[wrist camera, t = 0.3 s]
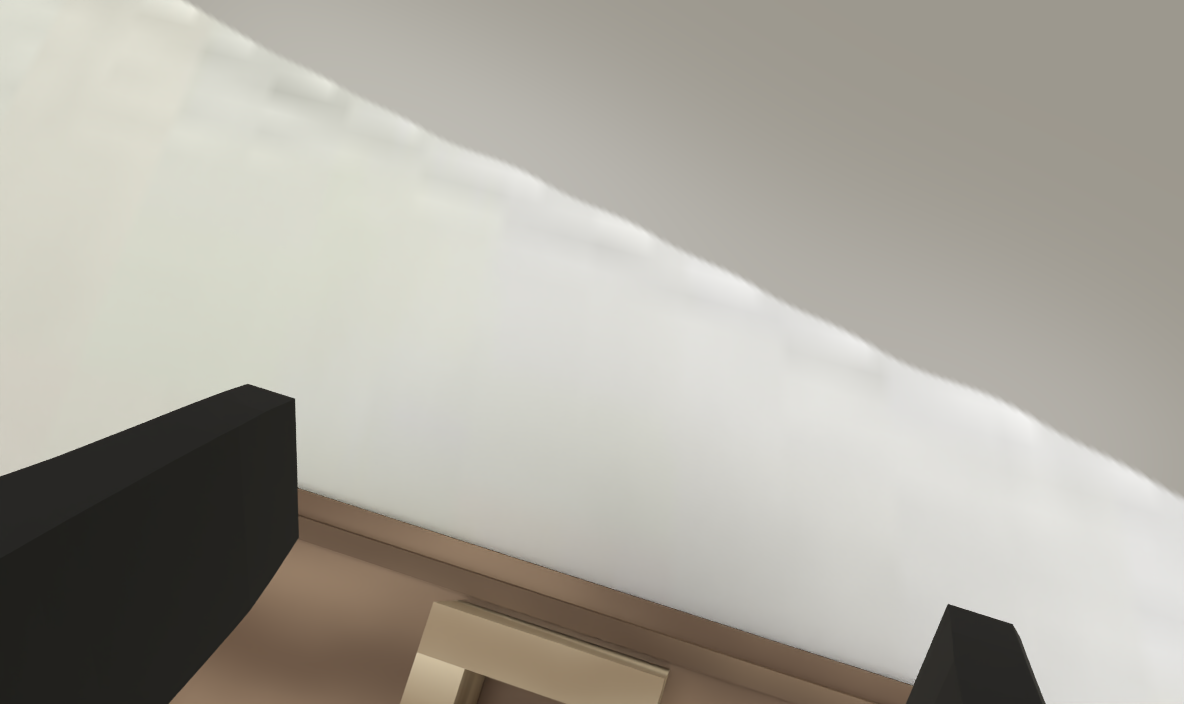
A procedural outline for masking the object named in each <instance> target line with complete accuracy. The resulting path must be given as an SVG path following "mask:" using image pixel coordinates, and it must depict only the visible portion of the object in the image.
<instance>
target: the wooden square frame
mask: <svg viewBox="0 0 1184 704" xmlns="http://www.w3.org/2000/svg"><path fill="white" fill-rule="evenodd" d="M669 671H670V669H668V668H665V667H662V666H659V665H656V664H653V663H650V662H647V661H644V660H641V659H638V658H635V657H632V656H629V655H626V654H623V653H620V652H617V651H614V650H611V649H608V648H605V647H602V646H599V645H596V644H593V643H590V642H587V641H584V640H581V639H578V638H575V637H572V636H569V635H566V634H563V633H560V632H557V631H554V630H551V629H548V628H545V627H542V626H539V625H536V624H533V623H530V622H527V621H524V620H521V619H518V618H515V617H512V616H509V615H506V614H503V613H500V612H497V611H494V610H491V609H488V608H485V607H482V606H479V605H475V604H472V603H469V602H466V601H463V600H454V601H438V602H433V605H432V608H431V611H430V614H429V617H428V620H427V623H426V626H425V629H424V632H423V635H422V638H421V641H420V644H419V648H418V651H417V654H416V657H415V660H414V663H413V666H412V669H411V672H410V675H409V678H408V681H407V684H406V687H405V690H404V693H403V696H402V699H401V702H400V704H477V701H478V698H479V695H480V692H481V689H482V686H483V682H484V679H485V676H487V677H490V678H493V679H496V680H499V681H502V682H504V683H507V684H510V685H513V686H516V687H519V688H522V689H525V690H528V691H531V692H534V693H536V694H539V695H542V696H545V697H548V698H551V699H554V700H557V701H560V702H563V703H566V704H660V703H661V699H662V695H663V692H664V688H665V685H666V681H667V678H668V674H669Z"/></svg>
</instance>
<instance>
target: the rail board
mask: <svg viewBox="0 0 1184 704" xmlns="http://www.w3.org/2000/svg"><path fill="white" fill-rule="evenodd" d="M110 436H111V435H110ZM298 521H299V538H298V540H297V541H296V543H295V544H294V546H293V547H292V549H291V551H290V552H289V554H288V555H287V557H286V558H285V560H284V561H283V563H282V565H281V566H280V568H279V569H278V571H277V572H276V574H275V575H274V577H273V578H272V580H271V581H270V583H269V584H268V586H267V587H266V588H265V590H264V591H263V593H262V594H261V596H260V597H259V599H258V600H257V601H256V603H255V604H254V606H253V607H252V609H251V610H250V611H249V612H248V614H247V615H246V616H245V617H244V618H243V620H242V621H241V622H240V623H239V624H238V625H237V627H236V628H235V629H234V630H233V631H232V632H231V634H230V635H229V636H228V637H227V638H226V639H225V640H224V642H223V643H222V644H221V645H220V646H219V647H218V648H217V650H216V651H215V652H214V653H213V654H212V655H211V657H210V658H209V659H208V660H207V661H206V662H205V663H204V665H203V666H202V667H201V668H200V669H199V670H198V671H197V672H196V674H195V675H194V676H193V677H192V678H191V679H190V680H189V681H188V683H187V684H186V685H185V686H184V687H183V688H182V689H181V690H180V692H179V693H178V694H177V695H176V696H175V697H174V698H173V700H172V701H171V702H170V703H169V704H400V702H401V699H402V696H403V693H404V690H405V687H406V684H407V681H408V678H409V675H410V672H411V669H412V666H413V663H414V660H415V657H416V654H417V651H418V648H419V644H420V641H421V638H422V635H423V632H424V629H425V626H426V623H427V620H428V617H429V614H430V611H431V608H432V605H433V602H438V601H454V600H463V601H466V602H469V603H472V604H475V605H479V606H482V607H485V608H488V609H491V610H494V611H497V612H500V613H503V614H506V615H509V616H512V617H515V618H518V619H521V620H524V621H527V622H530V623H533V624H536V625H539V626H542V627H545V628H548V629H551V630H554V631H557V632H560V633H563V634H566V635H569V636H572V637H575V638H578V639H581V640H584V641H587V642H590V643H593V644H596V645H599V646H602V647H605V648H608V649H611V650H614V651H617V652H620V653H623V654H626V655H629V656H632V657H635V658H638V659H641V660H644V661H647V662H650V663H653V664H656V665H659V666H662V667H665V668H668V669H670V671H669V674H668V678H667V681H666V685H665V688H664V692H663V695H662V699H661V703H660V704H906V702H907V700H908V697H909V695H910V693H911V690H912V688H913V685H910V684H907V683H903V682H900V681H897V680H894V679H891V678H888V677H885V676H882V675H878V674H875V673H872V672H869V671H866V670H863V669H860V668H857V667H854V666H850V665H847V664H844V663H841V662H838V661H835V660H832V659H829V658H826V657H822V656H819V655H816V654H813V653H810V652H807V651H804V650H801V649H798V648H794V647H791V646H788V645H785V644H782V643H779V642H776V641H773V640H769V639H766V638H763V637H760V636H757V635H754V634H751V633H748V632H745V631H741V630H738V629H735V628H732V627H729V626H726V625H723V624H720V623H717V622H713V621H710V620H707V619H704V618H701V617H698V616H695V615H692V614H689V613H685V612H682V611H679V610H676V609H673V608H670V607H667V606H664V605H660V604H657V603H654V602H651V601H648V600H645V599H642V598H639V597H636V596H632V595H629V594H626V593H623V592H620V591H617V590H614V589H611V588H608V587H604V586H601V585H598V584H595V583H592V582H589V581H586V580H583V579H580V578H576V577H573V576H570V575H567V574H564V573H561V572H558V571H555V570H551V569H548V568H545V567H542V566H539V565H536V564H533V563H530V562H527V561H523V560H520V559H517V558H514V557H511V556H508V555H505V554H502V553H499V552H495V551H492V550H489V549H486V548H483V547H480V546H477V545H474V544H470V543H467V542H464V541H461V540H458V539H455V538H452V537H449V536H446V535H442V534H439V533H436V532H433V531H430V530H427V529H424V528H421V527H418V526H414V525H411V524H408V523H405V522H402V521H399V520H396V519H393V518H390V517H386V516H383V515H380V514H377V513H374V512H371V511H368V510H365V509H361V508H358V507H355V506H352V505H349V504H346V503H343V502H340V501H337V500H333V499H330V498H327V497H324V496H321V495H318V494H315V493H312V492H309V491H305V490H302V489H299V488H298ZM477 704H566V703H563V702H560V701H557V700H554V699H551V698H548V697H545V696H542V695H539V694H536V693H534V692H531V691H528V690H525V689H522V688H519V687H516V686H513V685H510V684H507V683H504V682H502V681H499V680H496V679H493V678H490V677H487V676H485V679H484V682H483V686H482V689H481V692H480V695H479V698H478V701H477Z"/></svg>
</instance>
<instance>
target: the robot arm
mask: <svg viewBox="0 0 1184 704" xmlns="http://www.w3.org/2000/svg"><path fill="white" fill-rule="evenodd" d="M298 538H299V521H298V486H297V451H296V417H295V399H294V398H291V397H288V396H285V395H281V394H278V393H275V392H272V391H269V390H265V389H262V388H259V387H256V386H253V385H250V384H246V385H243V386H240V387H237V388H234V389H231V390H228V391H225V392H222V393H219V394H217V395H214V396H211V397H209V398H206V399H203V400H201V401H198V402H195V403H193V404H190V405H188V406H185V407H182V408H180V409H177V410H175V411H172V412H170V413H167V414H165V415H162V416H160V417H157V418H155V419H152V420H150V421H147V422H145V423H142V424H140V425H137V426H135V427H132V428H129V429H127V430H124V431H122V432H119V433H117V434H114V435H111V436H109V437H106V438H104V439H101V440H99V441H96V442H93V443H91V444H88V445H86V446H83V447H81V448H78V449H75V450H73V451H70V452H68V453H65V454H63V455H60V456H57V457H55V458H52V459H49V460H46V461H43V462H40V463H38V464H35V465H32V466H29V467H26V468H23V469H21V470H18V471H15V472H12V473H9V474H6V475H3V476H1V477H0V704H169V703H170V702H171V701H172V700H173V698H174V697H175V696H176V695H177V694H178V693H179V692H180V690H181V689H182V688H183V687H184V686H185V685H186V684H187V683H188V681H189V680H190V679H191V678H192V677H193V676H194V675H195V674H196V672H197V671H198V670H199V669H200V668H201V667H202V666H203V665H204V663H205V662H206V661H207V660H208V659H209V658H210V657H211V655H212V654H213V653H214V652H215V651H216V650H217V648H218V647H219V646H220V645H221V644H222V643H223V642H224V640H225V639H226V638H227V637H228V636H229V635H230V634H231V632H232V631H233V630H234V629H235V628H236V627H237V625H238V624H239V623H240V622H241V621H242V620H243V618H244V617H245V616H246V615H247V614H248V612H249V611H250V610H251V609H252V607H253V606H254V604H255V603H256V601H257V600H258V599H259V597H260V596H261V594H262V593H263V591H264V590H265V588H266V587H267V586H268V584H269V583H270V581H271V580H272V578H273V577H274V575H275V574H276V572H277V571H278V569H279V568H280V566H281V565H282V563H283V561H284V560H285V558H286V557H287V555H288V554H289V552H290V551H291V549H292V547H293V546H294V544H295V543H296V541H297V540H298ZM906 704H1045V701H1044V699H1043V696H1042V694H1041V691H1040V689H1039V686H1038V684H1037V681H1036V679H1035V676H1034V673H1033V671H1032V668H1031V665H1030V663H1029V660H1028V658H1027V655H1026V652H1025V650H1024V647H1023V644H1022V641H1021V639H1020V636H1019V635H1018V633H1017V631H1016V629H1015V628H1014V626H1013V624H1010V623H1007V622H1004V621H1000V620H997V619H994V618H991V617H988V616H985V615H981V614H978V613H975V612H972V611H969V610H965V609H962V608H959V607H956V606H953V605H950V604H948V605H947V607H946V610H945V612H944V615H943V617H942V619H941V622H940V624H939V626H938V629H937V631H936V634H935V636H934V638H933V641H932V643H931V645H930V648H929V650H928V652H927V655H926V657H925V660H924V662H923V664H922V667H921V669H920V671H919V674H918V676H917V679H916V681H915V683H914V686H913V688H912V690H911V693H910V695H909V697H908V700H907V702H906Z"/></svg>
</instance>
